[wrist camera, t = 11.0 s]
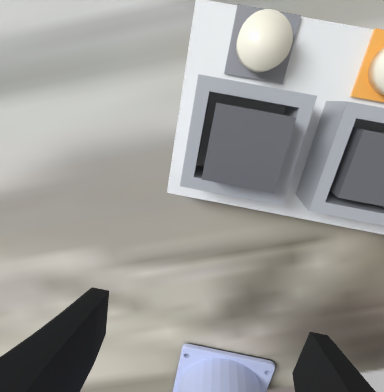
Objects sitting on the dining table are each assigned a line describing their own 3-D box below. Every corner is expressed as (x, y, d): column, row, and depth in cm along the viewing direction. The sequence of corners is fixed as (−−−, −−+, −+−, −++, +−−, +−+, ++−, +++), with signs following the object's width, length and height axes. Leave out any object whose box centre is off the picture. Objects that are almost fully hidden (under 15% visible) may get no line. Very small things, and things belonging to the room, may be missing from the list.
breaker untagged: (264, 177, 14) (274, 193, 12) (204, 166, 14) (201, 179, 12) (282, 114, 13) (296, 117, 11) (216, 101, 13) (216, 102, 11)
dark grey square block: (376, 193, 15) (405, 210, 13) (319, 182, 15) (337, 197, 13) (401, 135, 14) (438, 143, 12) (340, 124, 14) (363, 129, 12)
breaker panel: (495, 242, 18) (590, 292, 14) (173, 180, 19) (158, 208, 14) (597, 83, 15) (772, 77, 10) (199, 13, 15) (191, -24, 11)
